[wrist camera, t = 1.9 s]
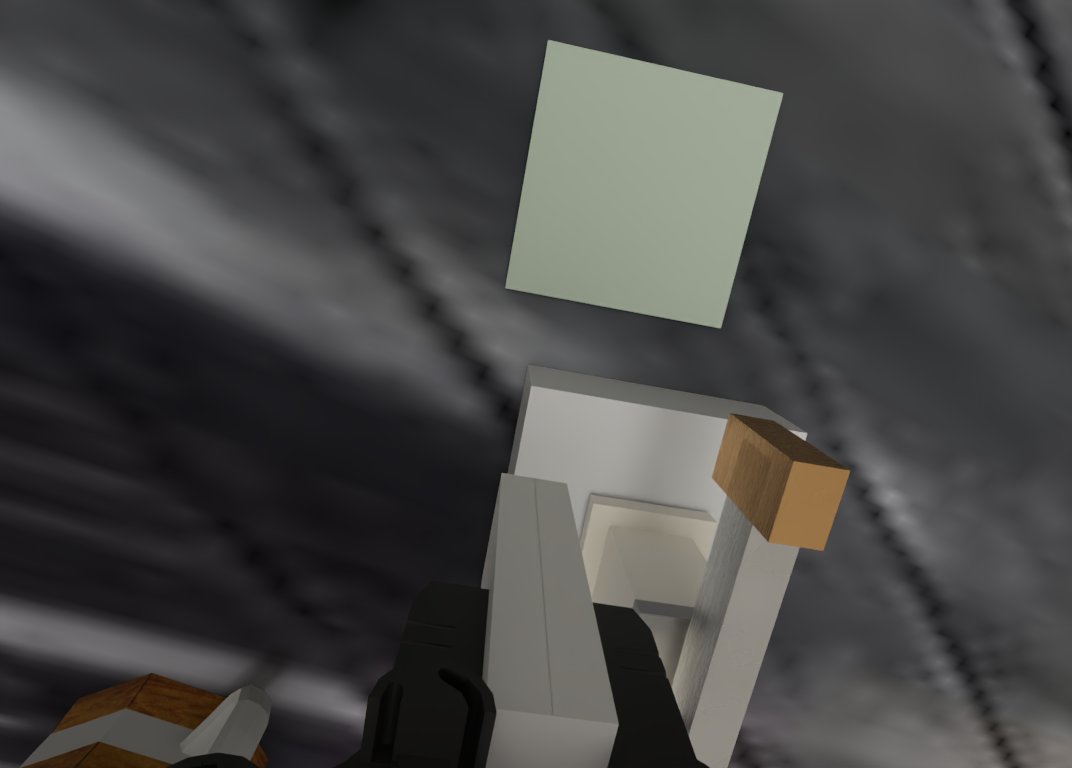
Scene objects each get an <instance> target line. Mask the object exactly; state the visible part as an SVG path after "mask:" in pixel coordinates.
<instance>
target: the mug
mask: <svg viewBox="0 0 1072 768" xmlns="http://www.w3.org/2000/svg"><path fill="white" fill-rule="evenodd" d="M270 711H271V699H270V698H269V696H268V695H267V694H266V692H265V691H264V690H263V689H260V688H258V687H256V686H254V685H248V686H245V687H242V688H240V689H239V690H237V691H235V692H233V693H232V694H230V695H229V696H228V697H227V698H225V697H222V696H219V695H216V694H213V693H210V692H207V691H204V690H201V689H198V688H195V687H192V686H189V685H186V684H183V683H180V682H177V681H174V680H171V679H168V678H165V677H162V676H159V675H156V674H153V673H151V674H148V675H145V676H142V677H139V678H136V679H133V680H131V681H128V682H125V683H122V684H119V685H116V686H113V687H110V688H107V689H105V690H102V691H99V692H96V693H93V694H90V695H87V696H84V697H81V698H79V699H77V700H76V702H75V703H74V704H73V706H72V707H71V708H70V709H69V711H68V712H67V713H66V715H65V716H64V717H63V719H62V720H61V721H60V723H59V724H58V725H57V727H56V728H55V729H54V730H53V732H52V733H51V734H50V735H49V737H48V738H47V739H46V740H45V741H44V742H43V743H42V744H41V745H40V746H39V747H38V748H37V749H36V750H35V751H34V752H33V753H32V755H31V756H30V757H29V758H28V759H27V760H26V761H25V762H24V763H23V764H22V765H21V766H20V767H19V768H166V767H168V766H170V765H172V764H175V763H177V762H179V761H181V760H184V759H186V758H188V757H193V756H199V755H205V754H211V753H217V752H219V753H225V754H232V755H238V756H244V757H245V758H247V759H248V760H250V761H251V762H253V763H254V764H256V765H257V766H259V767H260V768H265V767H266V764H267V762H268V758H267V757H266V755H265V753H264V752H263V750H262V748H261V747H260V745H259V741H260V739H261V737H262V735H263V733H264V731H265V729H266V727H267V725H268V721H269V716H270Z"/></svg>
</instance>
